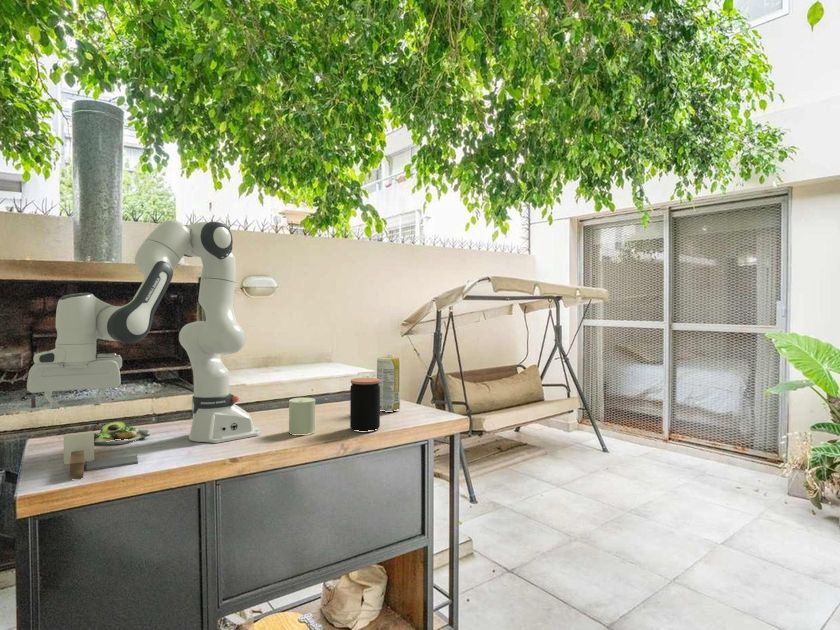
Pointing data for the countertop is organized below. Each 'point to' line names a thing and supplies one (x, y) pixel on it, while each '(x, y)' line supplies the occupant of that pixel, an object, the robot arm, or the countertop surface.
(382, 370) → the juice carton
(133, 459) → the pad
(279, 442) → the countertop surface
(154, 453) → the countertop surface
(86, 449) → the tile
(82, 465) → the brown long block
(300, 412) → the can
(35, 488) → the countertop surface
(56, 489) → the countertop surface
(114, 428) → the plate of avocado toast
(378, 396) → the coffee jar
